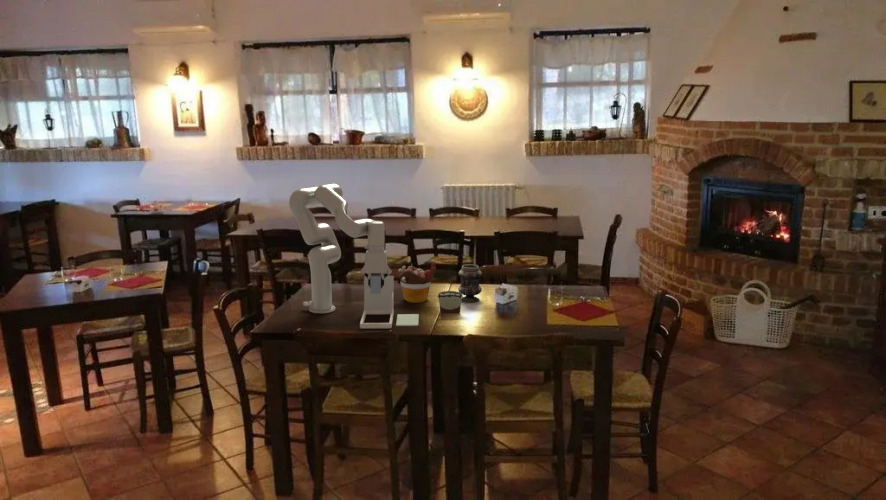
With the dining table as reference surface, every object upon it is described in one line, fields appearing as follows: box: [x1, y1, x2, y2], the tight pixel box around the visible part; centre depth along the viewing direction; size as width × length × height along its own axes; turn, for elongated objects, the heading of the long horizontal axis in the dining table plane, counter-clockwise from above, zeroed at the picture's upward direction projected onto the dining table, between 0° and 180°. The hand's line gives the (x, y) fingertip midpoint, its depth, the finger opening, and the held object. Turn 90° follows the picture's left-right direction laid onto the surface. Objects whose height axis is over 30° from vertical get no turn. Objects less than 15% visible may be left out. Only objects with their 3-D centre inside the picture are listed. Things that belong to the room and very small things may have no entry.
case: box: [359, 275, 395, 329], centre depth 316 cm, size 14×26×18 cm, turn 1°
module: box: [370, 274, 382, 294], centre depth 312 cm, size 4×9×8 cm, turn 1°
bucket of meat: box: [397, 262, 437, 304], centre depth 347 cm, size 20×16×20 cm
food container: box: [437, 290, 464, 315], centre depth 328 cm, size 12×6×10 cm, turn 92°
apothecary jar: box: [457, 264, 483, 304], centre depth 348 cm, size 12×12×18 cm
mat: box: [395, 313, 420, 327], centre depth 316 cm, size 10×16×1 cm, turn 1°
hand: (376, 286), depth 313 cm, fingers closed on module, 4 cm apart
